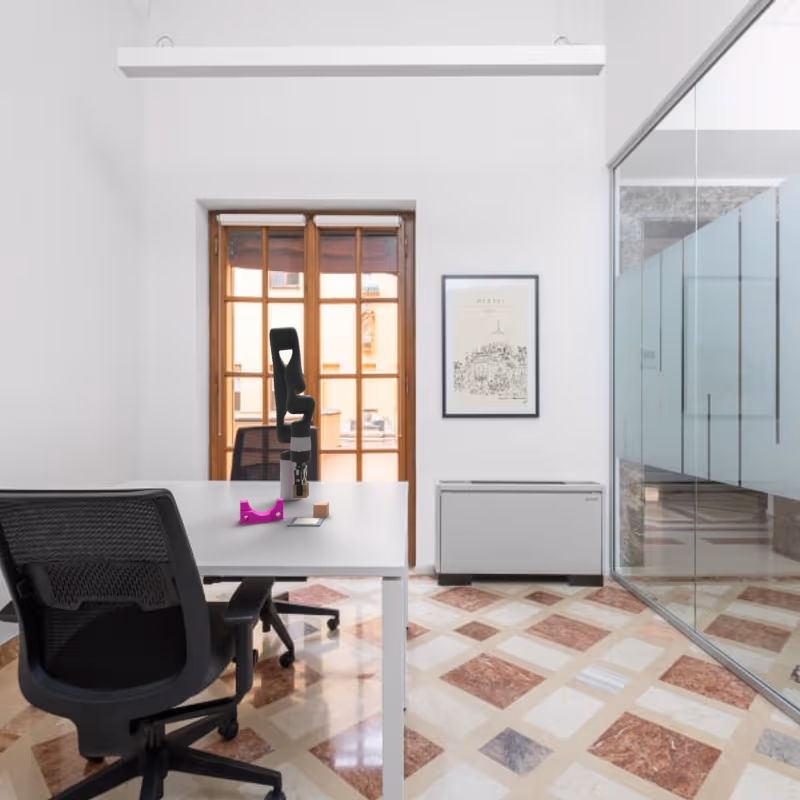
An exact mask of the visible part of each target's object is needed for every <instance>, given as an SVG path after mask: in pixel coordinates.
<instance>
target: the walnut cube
mask: <svg viewBox="0 0 800 800" xmlns="http://www.w3.org/2000/svg"><path fill="white" fill-rule="evenodd" d="M309 485H310V483H309V481H306V482H303V495H302V496H297V495H296V485H295V483H294V484H293V498H302V499H307V498H308V497H309V496H310V489H309V488H310V486H309Z"/></svg>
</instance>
